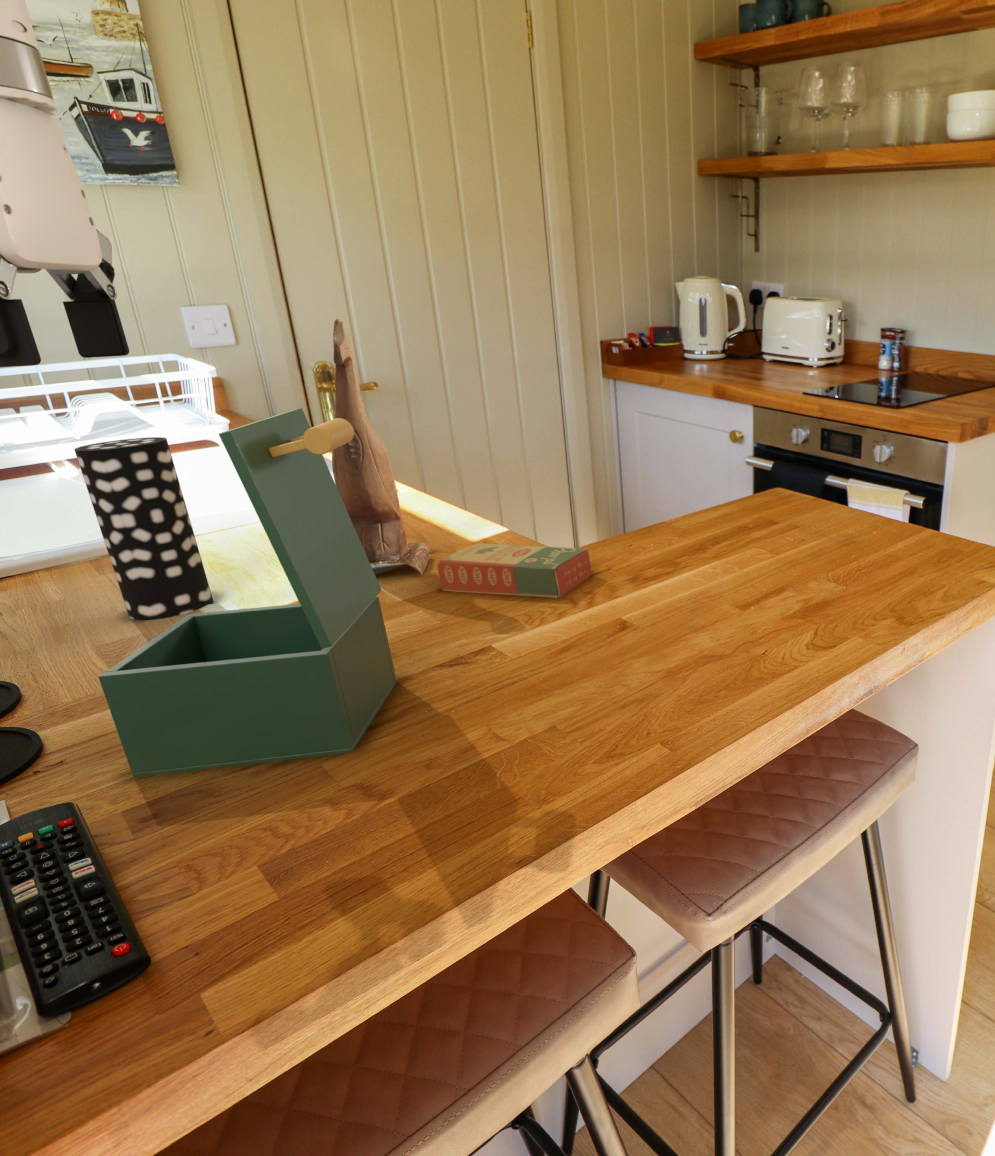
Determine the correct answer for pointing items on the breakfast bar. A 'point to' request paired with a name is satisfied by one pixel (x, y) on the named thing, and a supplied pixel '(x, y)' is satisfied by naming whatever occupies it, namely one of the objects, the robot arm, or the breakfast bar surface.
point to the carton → (515, 570)
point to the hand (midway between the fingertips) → (62, 360)
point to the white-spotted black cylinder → (145, 526)
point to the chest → (248, 690)
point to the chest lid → (306, 515)
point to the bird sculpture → (368, 472)
